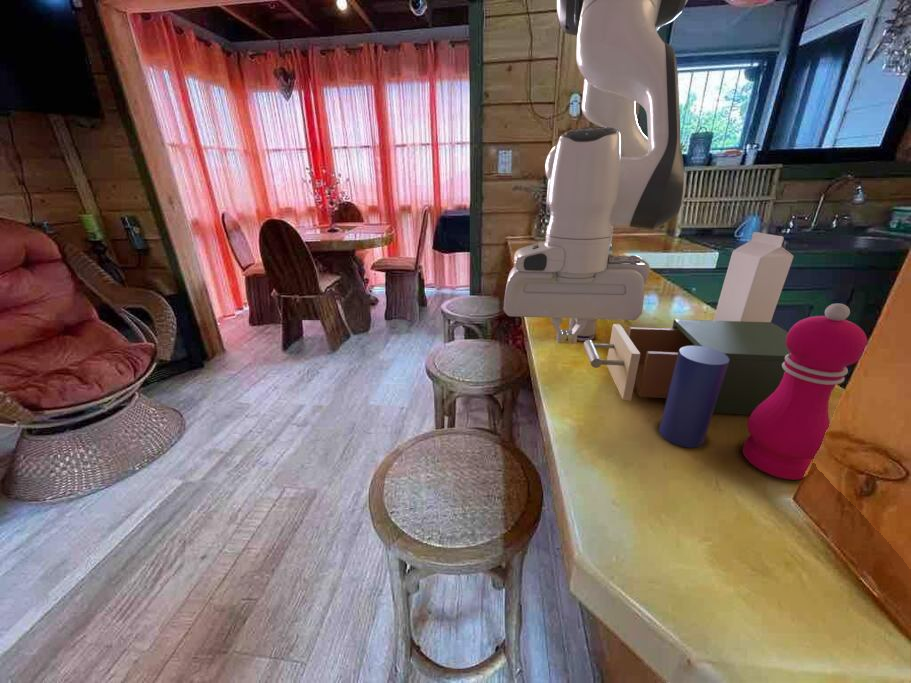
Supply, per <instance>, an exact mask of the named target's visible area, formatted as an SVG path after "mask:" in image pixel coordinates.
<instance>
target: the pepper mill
mask: <svg viewBox="0 0 911 683" xmlns="http://www.w3.org/2000/svg"><path fill="white" fill-rule="evenodd" d="M850 314H851V310H850V308H849V306H847V305H846V304H844V303H831V304H830V305H828V306H827V307H826V308H825V310H824V315H815V316H809V317H806V318H803V319H800V320H799V321H796V323H794V324H793V325H792V326H791V328H790V329H789V330H788V331H787V332H788V334H787V337H786V346H787V348H788V350H789V351H790V354H787V355H786V356H785V362H783V363H782V368H783V369H784V370H785V372H784V376H783V379H782V381H781V382H780V384H779V386H778V388H777V389H776V390H775V391H774V392H773V393H772V394H771V395H770V396H769V397H768V398H767V399H765V400H764V401H763V402H762V403H761V404H759V405H758V406H757V407H756V408H755V410H754V411H753V412H752V414H751V415H749V418H748V419H747V423H746V428H747V431H748V433H749V435H748V436H747V437H746V440H745V442H744V444H743V446H742V447H743V448H742V454H743V456H744V457H745V459H746V460H747V461H748V462H749V463H750V464H751V465H752V466H753V467H755V468H757V469H758V470H759V471H762V472H764V473H765V474H768V475H771V476H773V477H776V478H778V479H779V478H780V479H783V480H784V479H785V480H790V481H791V480H792V481H796V480H797V481H798V480H803V479H804V478H803V476H804V474H805V471H806V470H807V468H808V466H809V464H810V462H811V460H812V459H815V458H814V456H815V454H816V453H817V451H818V450H819V448H820V446H821V444H822V441H823V438H824V435H825V432H826V430H827V429H828V427H829V424H830V425H831V421H830V416H829V415H830V414H829V405H830V404H829V402H830V398H831V395H832V392H833V390H834V388H835V387H836V385H840V384H842V383H844V382H845V379H846V378H845V376H847V375H848V373H849V370H848V367H849V366H850V365H852V364H853V365H854V364H855V363H857V362H859V361H860V360H859V358H860V356H861V354H862V352H863V349H864V347H865V346H866V343H867V344H868V338H867V335H866V333H865V331H864V330H863V329H862V328H861V327H860V326H859V325H858V324H856V323H854V322H852V321H849V320H847V318H848V317H849V316H850Z"/></svg>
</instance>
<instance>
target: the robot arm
mask: <svg viewBox="0 0 911 683" xmlns="http://www.w3.org/2000/svg"><path fill="white" fill-rule="evenodd" d="M688 2H689V0H556V12H557V17H558V20H559V26H560V28H561V29H562V30H563V32H564V33H565V34H567V35H571V36H576V47H575V62H576V66H577V67H578V70H579V72H580V74H581V75H582V77H583V88H582V97H581V98H582V99H581V111H582V115H583V116H584V118H585V119H586V120H588V122H590V123H592V124H593V125H595V126H588V127H580V128H573V129H570V130H567V131H566V132H564V133H562V134H561V135H560V136H559V138H558V140H557V143H556V144H555V145H554V146H553V147H552V148H551V149H550V151H549V152H548V154H547V156H546V158H545V164H544V172H545V176H546V179H547V190H546V206H545V207H546V209H547V210H548V211H549V220H548V221H549V222H548V224H547V227H546V231H545V240H543V241H540V242H537V243H534V244H530V245H527V246H523V247H520V248H518V249H517V250H516V251H515V252H514V255H513V265H514V266H513V267H512V268H511V270H510V271H509V273H508V277H507V281H506V283H505V284H506V285H505V291H504V297H503V298H504V299H503V312H504V313H505V314H506V316H508V317H512V318H514V317H516V318H517V317H518V318H548V319H550V320H551V324H552V326H553V328H554V331H555V333H556V336H555V337H556V340H555V341H556V344H559V345H560V344H563V345H564V344H566V345H577V342H578V340H577V335H578V334H579V333H580V332H581V331H582V330H583V328H584V327H585V326H586V323H587V319H597V320H612V321H615V320H617V321H636V320H637V319H638V318H639V317H641V316H642V314H643V310H644V300H645V284H646V283H647V282H648V280H649V276H650V270H651V269H650V264H649V262H648V261H647V260H646V259H644V258H642V257H641V256H640V255H629V256H627V255H612V253H613V244H612V239H613V234H614V226H616V227H617V226H618V227H630V228H636V229H643V230H650V231H651V230H652V231H653V230H655V229H658V228H659V227H661V226H663V225H665V224H666V223H668V222H669V221H670V220H672V219H673V218H675V217H676V216H677V215H678V214H679V213H680V211H681V210H680V209H681V207H682V205H683V203H684V199H685V196H686V191H687V190H686V189H687V177H686V170H685V166H684V158H683V148H682V134H681V131H682V130H681V110H680V109H681V108H680V89H679V88H680V87H679V72H678V63H677V56H676V53H675V50H674V47H673V46H672V45H670V44H669V43H667V42H664V40H662V38H661V37H660V35H659V33H658V31H659V29H660V28H662V27H663V26H667V25H668V24H670V23H672V22H673V21H674V20H675V19H676V18H678V17H679V16H680V15H681V14H682V13H683V11H684V9H685V6H686V4H687V3H688ZM636 103H637V104H639V105H640V106H641V107H642V108H643V109H644V111H645V113H646V126H647V136H646V135H645V134H644V132H643V131H642V129H641V127H640V126H639V123H638V118H637V114H636ZM570 318H575V320H576V325H575V326H574V327H573V329H572V330H569V329H562V328H561V326H560V325H561V324H562V322H563V319H570Z"/></svg>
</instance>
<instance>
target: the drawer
mask: <svg viewBox="0 0 911 683" xmlns="http://www.w3.org/2000/svg"><path fill="white" fill-rule="evenodd" d="M582 344H583V348H584V350H585V353H586V355H587V359H588V360H589V363H590V366H591V367H592V368H594V369H597V368H600V367H601V366H602V365H603V366H606V367H607V369H608V372H609V373H610V376H611V378H612V380H613V382H614V384H615V386H616V388H617V390H618V392H619V395H620V397H621V399H622V400H623V401H632V398H633V392H634V390H635V391H636V393H637V395H638V397H640V398H658V399H667V396H668V392H669V388H670V384H671V380H672V376H673V372H674V368H675V364H676V360H677V356H678V352H679V349H680V348H682V347H685V346H695V345H694V344H693V343H692V342H691V341H690V340H689V339H688V338H687V337H686V336H685V335H684V334H683V333H682V332H681V331H680V330H679V329H673V328H672V327H670V328H669V327H667V328H666V327H643V326H642V327H639V326H637V327H636V326H633V327H632V326H629V327H628V333H627V332H626V331H625V329H624V328H623V326H622V324H621V323H612V327H611V334H610V339H609V343H596V342H594V341H593V340H586V341H583V343H582ZM597 349H608V350H607V358H606V359H601V357H600V355H599V352H598V350H597Z"/></svg>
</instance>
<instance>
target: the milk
mask: <svg viewBox="0 0 911 683" xmlns="http://www.w3.org/2000/svg"><path fill="white" fill-rule="evenodd" d="M784 239H785V238H784V236H781V235H776V234H770V233H766V232H765V233H764V232H759V231H754V232H752V234H751V238H750V240H749V241H747V242H746V243H743V244H742V245H740V246H739V247H736V248H735V249H733V250H732V252H731V256H730V260H729V263H728V267H727V270H726V274H725V277H724V281H723V284H722V288H721V291H720V295H719V298H718V301H717V305H716V308H715V311H714V312H715V313H714V316H713V319H712V321H745V322H772V320H773V317H774V313H775V311H776V308H777V305H778V303H779V300H780V296H781V293H782V291H783V289H784V285H785V282H786V280H787V277H788V274H789V272H790V268H791V266H792V262H793V259H794V255H793V254H792V253H791V252H789V250H787V249H785V248H784V247H783V246H782V245H783V243H784Z"/></svg>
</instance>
